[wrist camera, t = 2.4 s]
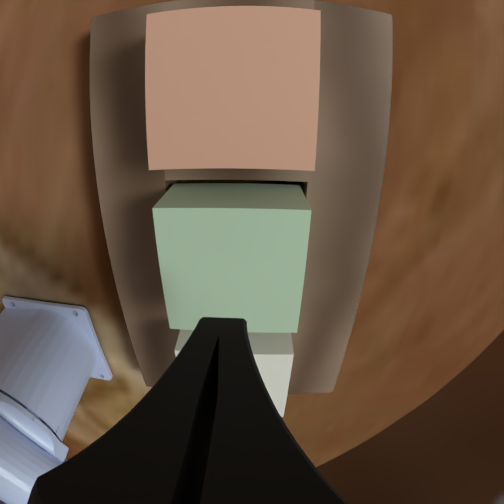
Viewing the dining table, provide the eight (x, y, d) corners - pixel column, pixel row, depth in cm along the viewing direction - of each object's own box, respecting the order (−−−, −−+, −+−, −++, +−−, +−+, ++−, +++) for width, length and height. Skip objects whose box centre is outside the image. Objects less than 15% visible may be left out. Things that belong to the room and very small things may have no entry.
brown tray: (152, 367, 23) (146, 385, 21) (108, 24, 12) (91, 17, 10) (328, 372, 23) (332, 392, 21) (377, 22, 12) (392, 14, 10)
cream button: (196, 373, 21) (189, 413, 18) (186, 308, 18) (174, 350, 15) (280, 376, 21) (283, 416, 18) (288, 311, 18) (293, 354, 15)
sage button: (183, 287, 17) (170, 328, 14) (173, 183, 15) (152, 208, 11) (290, 290, 17) (296, 332, 14) (299, 184, 15) (311, 210, 11)
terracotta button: (172, 153, 14) (148, 169, 11) (171, 31, 11) (146, 14, 8) (301, 154, 14) (314, 171, 11) (305, 30, 11) (320, 10, 8)
